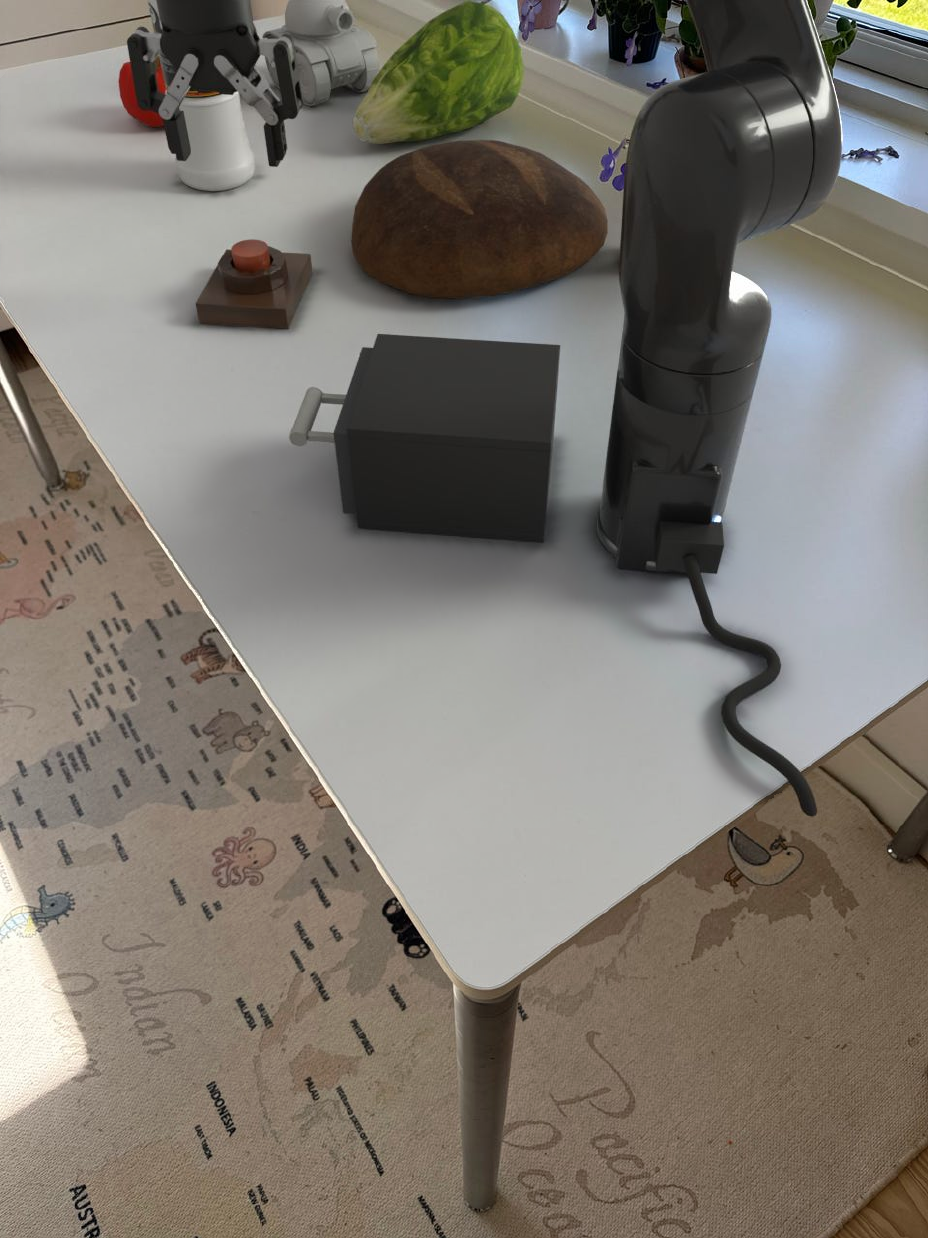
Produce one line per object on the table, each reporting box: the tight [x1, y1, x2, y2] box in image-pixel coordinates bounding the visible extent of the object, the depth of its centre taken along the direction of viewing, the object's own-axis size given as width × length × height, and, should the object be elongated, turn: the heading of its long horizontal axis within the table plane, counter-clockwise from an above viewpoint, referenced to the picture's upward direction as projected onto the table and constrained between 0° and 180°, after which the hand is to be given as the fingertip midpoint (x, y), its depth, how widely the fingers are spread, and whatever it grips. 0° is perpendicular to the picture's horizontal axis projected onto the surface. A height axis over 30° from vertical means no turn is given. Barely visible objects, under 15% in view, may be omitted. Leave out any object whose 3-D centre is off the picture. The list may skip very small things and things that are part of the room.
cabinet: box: [347, 333, 561, 544], centre depth 79 cm, size 15×13×10 cm
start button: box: [230, 238, 271, 272], centre depth 99 cm, size 4×4×2 cm
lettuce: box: [352, 0, 525, 145], centre depth 126 cm, size 14×23×13 cm, turn 126°
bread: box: [350, 139, 609, 299], centre depth 107 cm, size 28×27×9 cm
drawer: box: [288, 346, 373, 515], centre depth 79 cm, size 18×11×8 cm, turn 83°
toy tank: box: [261, 0, 381, 107], centre depth 136 cm, size 15×11×13 cm
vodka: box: [146, 0, 257, 192], centre depth 111 cm, size 9×9×30 cm
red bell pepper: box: [118, 55, 166, 128], centre depth 131 cm, size 9×9×8 cm
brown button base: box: [195, 245, 314, 330], centre depth 101 cm, size 11×9×4 cm
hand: (230, 160), depth 92 cm, fingers open, 8 cm apart
